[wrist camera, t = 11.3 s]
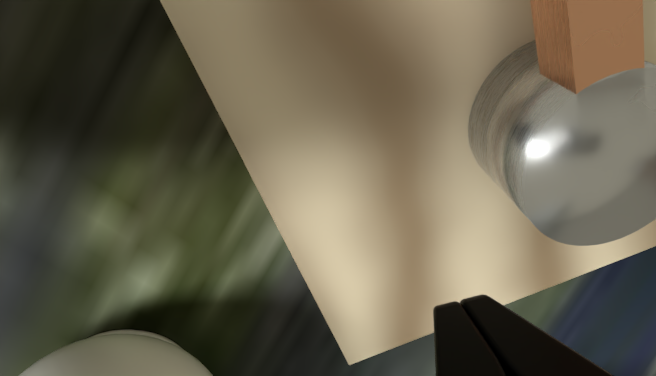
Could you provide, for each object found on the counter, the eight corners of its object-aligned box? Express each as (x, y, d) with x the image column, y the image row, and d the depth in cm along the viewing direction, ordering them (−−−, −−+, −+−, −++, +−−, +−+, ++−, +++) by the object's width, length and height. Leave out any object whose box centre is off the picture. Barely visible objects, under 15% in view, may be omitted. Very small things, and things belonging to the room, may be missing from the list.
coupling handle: (624, 153, 21) (706, 206, 17) (483, 207, 21) (535, 270, 18) (598, -332, 13) (734, -418, 10) (381, -242, 14) (434, -294, 10)
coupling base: (343, 342, 26) (350, 368, 25) (154, -29, 17) (147, -23, 15) (765, 176, 25) (798, 193, 24) (811, -311, 16) (870, -333, 14)
